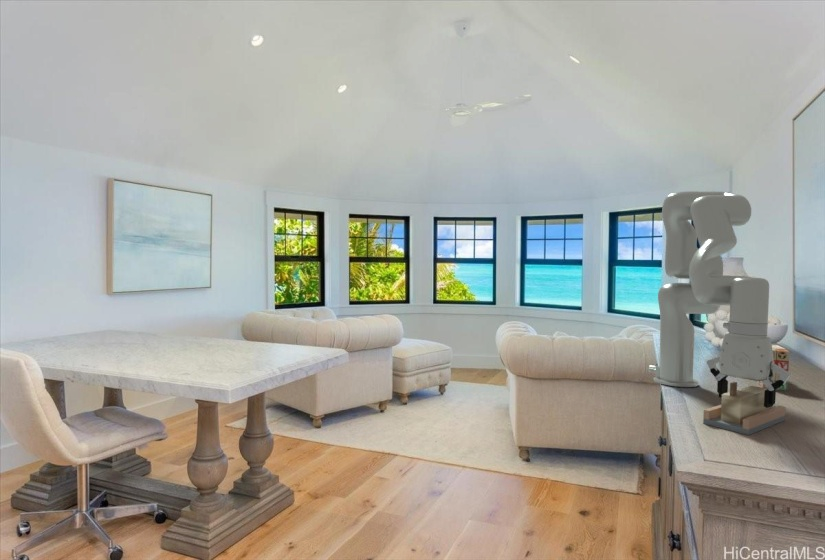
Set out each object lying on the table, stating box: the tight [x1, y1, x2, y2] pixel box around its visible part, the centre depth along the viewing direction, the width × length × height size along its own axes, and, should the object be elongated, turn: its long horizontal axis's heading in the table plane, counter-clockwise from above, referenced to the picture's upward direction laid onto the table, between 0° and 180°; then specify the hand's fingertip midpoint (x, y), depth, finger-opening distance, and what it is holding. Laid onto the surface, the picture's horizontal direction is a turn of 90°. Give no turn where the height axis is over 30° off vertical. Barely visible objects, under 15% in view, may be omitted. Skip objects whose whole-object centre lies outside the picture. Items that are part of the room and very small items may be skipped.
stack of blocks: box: [755, 344, 790, 391], centre depth 160 cm, size 21×6×12 cm, turn 156°
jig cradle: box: [702, 404, 787, 436], centre depth 118 cm, size 9×20×3 cm, turn 125°
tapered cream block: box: [720, 381, 771, 425], centre depth 117 cm, size 4×16×9 cm, turn 125°
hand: (744, 401), depth 118 cm, fingers open, 9 cm apart
